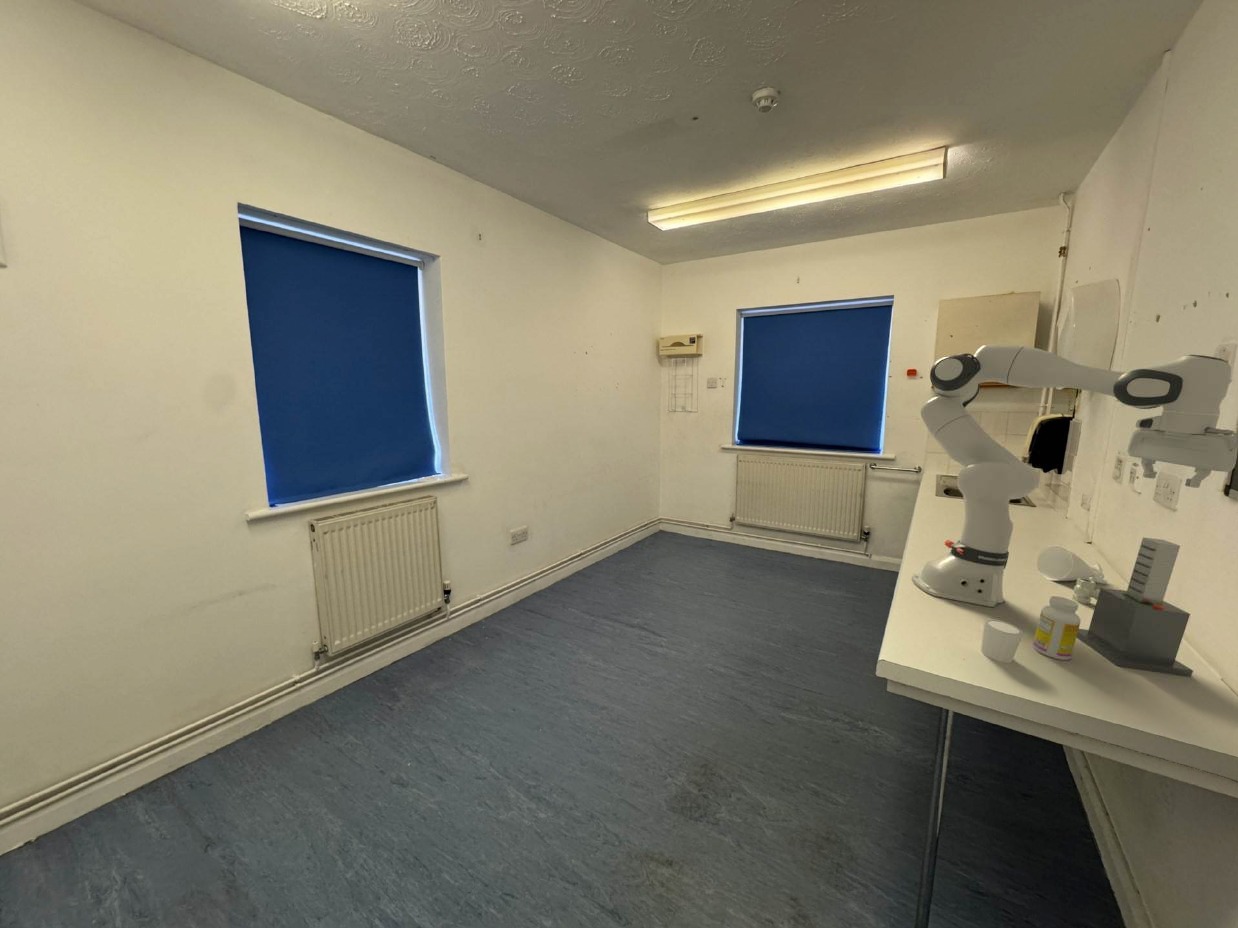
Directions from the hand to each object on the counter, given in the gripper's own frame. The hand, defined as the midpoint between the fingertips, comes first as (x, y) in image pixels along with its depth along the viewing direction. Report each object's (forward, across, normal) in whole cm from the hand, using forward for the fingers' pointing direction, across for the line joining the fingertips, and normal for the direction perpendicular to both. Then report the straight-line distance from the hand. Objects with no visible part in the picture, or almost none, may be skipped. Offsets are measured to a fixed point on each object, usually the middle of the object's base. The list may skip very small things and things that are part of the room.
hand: (1169, 482), depth 117 cm
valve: (+39, +13, -6) cm, 42 cm away
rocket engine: (+40, +31, -16) cm, 53 cm away
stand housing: (+39, -12, +12) cm, 43 cm away
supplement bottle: (+39, -14, +32) cm, 52 cm away
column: (+32, -12, +12) cm, 36 cm away
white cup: (+39, -17, +46) cm, 63 cm away
